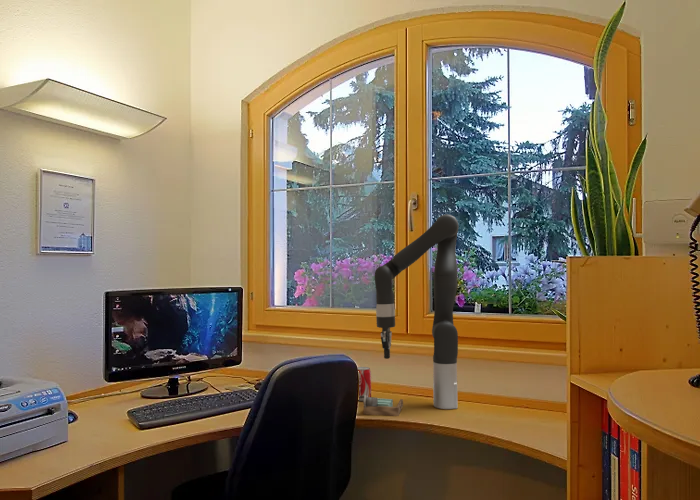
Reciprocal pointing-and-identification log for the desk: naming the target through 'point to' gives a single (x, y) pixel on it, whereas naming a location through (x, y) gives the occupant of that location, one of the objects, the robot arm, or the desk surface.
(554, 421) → the desk surface
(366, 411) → the bay
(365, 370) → the soda can
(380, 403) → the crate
